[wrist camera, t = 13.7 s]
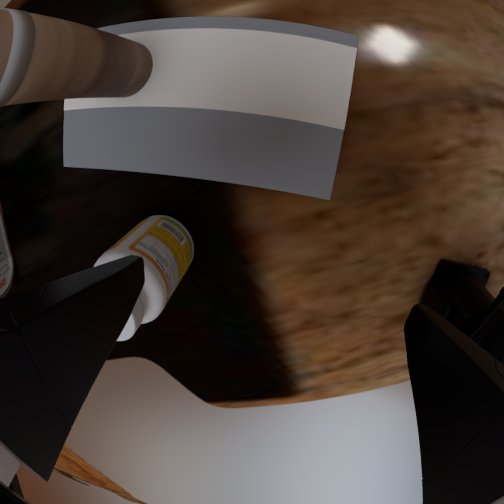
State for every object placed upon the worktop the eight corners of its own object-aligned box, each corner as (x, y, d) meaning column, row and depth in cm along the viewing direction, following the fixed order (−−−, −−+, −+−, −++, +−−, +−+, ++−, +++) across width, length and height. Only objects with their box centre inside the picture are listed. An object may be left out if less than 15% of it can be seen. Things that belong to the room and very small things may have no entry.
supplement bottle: (141, 271, 25) (84, 342, 17) (131, 213, 23) (57, 270, 14) (198, 275, 25) (155, 357, 16) (192, 213, 22) (134, 279, 14)
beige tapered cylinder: (149, 32, 16) (14, -13, 4) (157, 87, 18) (11, 81, 6) (98, 54, 16) (-40, 45, 5) (105, 106, 18) (-39, 129, 7)
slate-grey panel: (356, 38, 15) (358, 35, 14) (328, 198, 20) (329, 200, 20) (78, 35, 16) (73, 34, 15) (67, 165, 21) (63, 167, 21)
